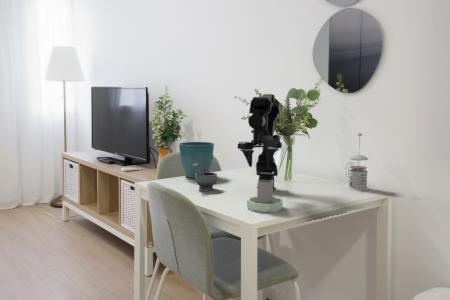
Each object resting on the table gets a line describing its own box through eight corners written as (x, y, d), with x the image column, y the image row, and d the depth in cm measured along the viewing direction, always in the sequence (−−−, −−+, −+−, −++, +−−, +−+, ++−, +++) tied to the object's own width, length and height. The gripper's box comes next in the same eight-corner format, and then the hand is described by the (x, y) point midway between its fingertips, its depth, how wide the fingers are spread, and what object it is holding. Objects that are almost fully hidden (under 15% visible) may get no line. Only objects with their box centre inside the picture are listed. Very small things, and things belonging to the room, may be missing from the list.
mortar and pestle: (211, 186, 209) (211, 160, 208) (220, 190, 201) (220, 163, 200) (188, 188, 204) (188, 162, 203) (197, 192, 196) (197, 165, 194)
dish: (267, 201, 180) (267, 194, 180) (289, 209, 169) (289, 201, 169) (240, 206, 173) (240, 198, 172) (262, 214, 162) (262, 205, 162)
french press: (373, 189, 204) (376, 133, 200) (353, 191, 198) (356, 134, 195) (358, 185, 212) (360, 131, 209) (338, 187, 207) (340, 132, 204)
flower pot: (175, 174, 240) (175, 142, 237) (208, 172, 245) (208, 140, 243) (183, 180, 222) (182, 146, 220) (218, 178, 228) (218, 144, 226)
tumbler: (257, 204, 174) (258, 179, 172) (272, 204, 173) (272, 180, 172) (257, 207, 168) (257, 182, 167) (272, 208, 168) (272, 183, 166)
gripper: (253, 129, 173) (253, 169, 174) (291, 128, 183) (290, 167, 185) (237, 128, 182) (236, 166, 184) (273, 127, 193) (272, 164, 194)
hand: (259, 166), depth 186 cm, fingers open, 9 cm apart
